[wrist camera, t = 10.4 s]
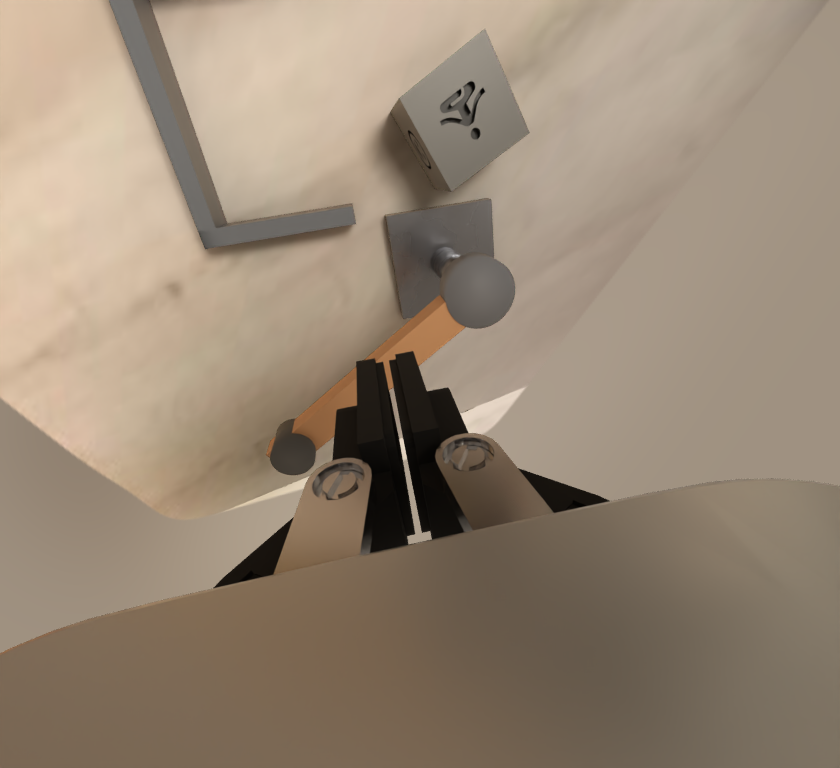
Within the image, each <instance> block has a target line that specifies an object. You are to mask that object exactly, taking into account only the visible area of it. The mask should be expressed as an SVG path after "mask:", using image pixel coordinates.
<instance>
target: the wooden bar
mask: <svg viewBox="0 0 840 768" xmlns="http://www.w3.org/2000/svg"><path fill="white" fill-rule="evenodd" d="M514 295H515V283H514V279H513V276H512V274H511V272H510V271H509V269H508V268H507V267H506V266H505V265H504V264H502V263H501V262H499V261H498V260H496V259H494V258H492V257H491V256H489V255H487V254H484V253H479V252H471V253H466V254H463V255H461V256H459V257H457V258H456V259H455V260H453V261H452V262H451V263H450V264H449V265H448V266H447V268H446V269H445V271H444V273H443V275H442V278H441V281H440V295H439V296H438V297H436V298H435V299H434V300H433V301H432V302H431V303H430V304H428V305H427V306H426V307H425V308H424V309H423V310H421V311H420V312H419V313H418V314H417V315H416V316H414V317H413V318H412V319H411V320H410V321H409V322H408V323H406V324H405V325H404V326H403V327H402V328H401V329H399V330H398V331H397V332H396V333H395V334H394V335H392V336H391V337H390V338H389V339H388V340H387V341H385V342H384V343H383V344H382V345H381V346H380V347H379V348H377V349H376V350H375V351H374V352H373V353H372V354H370V355H369V356H368V357H367V358H366V359H365V360H368V359H373V358H375V360H376V363H378V362H383V364H384V368H385V373H386V378H387V383H388V388H389V390H390V389H392V388H393V387H394V386H393V380H392V375H391V369H390V364H389V360H394V359H396V357H395V354H399V353H405V352H410V351H413V352H414V355H415V358H416V361H417V364H418V366H419V365H421V364H422V363H423V362H424V361H425V360H427V359H428V358H429V357H430V356H431V355H433V354H434V353H435V352H436V351H437V350H439V349H440V348H441V347H442V346H444V345H445V344H446V343H447V342H448V341H450V340H451V339H452V338H453V337H454V336H456V335H457V334H458V333H459V332H460V331H462V330H463V329H464V328H465V327H468V328H475V329H477V328H485V327H488V326H491V325H493V324H495V323H496V322H498V321H499V320H500V319H502V318H503V317H504V316H505V314H506V313H507V312H508V310H509V309H510V307H511V305H512V303H513V300H514ZM356 405H357V373H356V367H355V368H354V369H353V370H352V371H351V372H350V373H348V374H347V375H346V376H345V377H344V378H343V379H341V380H340V381H339V382H338V383H337V384H336V385H334V386H333V387H332V388H331V389H330V390H329V391H328V392H326V393H325V394H324V395H323V396H322V397H321V398H319V399H318V400H317V401H316V402H315V403H314V404H312V405H311V406H310V407H309V408H308V409H307V410H305V411H304V412H303V413H302V414H301V415H300V416H299V417H297V418H296V419H291V420H287V421H285V422H284V423H282V424H281V425H280V426H279V428H278V430H277V433H276V436H275V437H274V438H273V439H272V440H271V441H270V444H269V447H268V451H267V454H266V456H268V457H269V458H270V461H271V464H272V465H273V467H274V468H275V469H276V470H278V471H279V472H281V473H284V474H287V475H299V474H302V473H305V472H307V471H308V470H309V469H310V468H311V467H312V466H313V464H314V462H315V455H316V451H317V450H318V449H319V448H320V447H322V446H323V445H324V444H325V443H326V442H328V441H329V440H330V439H331V438H332V437H334V435H335V421H336V411H337V409H341V408H346V407H351V406H356Z"/></svg>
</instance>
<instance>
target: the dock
mask: <svg viewBox="0 0 840 768" xmlns="http://www.w3.org/2000/svg"><path fill="white" fill-rule="evenodd" d="M109 2H110V5H111V7H112V10H113V12H114V15H115V18H116V20H117V23H118V25H119V28H120V31H121V33H122V36H123V38H124V41H125V43H126V46H127V49H128V51H129V54H130V56H131V59H132V62H133V64H134V67H135V69H136V72H137V74H138V77H139V80H140V82H141V85H142V87H143V90H144V93H145V95H146V98H147V100H148V103H149V105H150V108H151V111H152V113H153V116H154V118H155V121H156V124H157V126H158V129H159V131H160V134H161V136H162V139H163V142H164V144H165V147H166V149H167V152H168V155H169V157H170V160H171V162H172V165H173V168H174V170H175V173H176V175H177V178H178V180H179V183H180V186H181V188H182V191H183V193H184V196H185V199H186V201H187V204H188V206H189V209H190V211H191V214H192V217H193V219H194V222H195V224H196V227H197V230H198V232H199V235H200V237H201V240H202V242H203V245H204V248H205V249H208V248H214V247H220V246H226V245H232V244H238V243H245V242H251V241H257V240H263V239H269V238H275V237H281V236H287V235H293V234H299V233H305V232H311V231H317V230H323V229H329V228H335V227H341V226H347V225H353V224H356V220H355V215H354V210H353V205H352V204H346V205H340V206H333V207H327V208H321V209H315V210H309V211H303V212H296V213H290V214H284V215H278V216H272V217H266V218H259V219H253V220H247V221H241V222H235V223H229V224H227V221H226V218H225V216H224V213H223V210H222V207H221V204H220V201H219V198H218V196H217V193H216V190H215V187H214V184H213V181H212V178H211V176H210V173H209V170H208V167H207V164H206V161H205V158H204V156H203V153H202V150H201V147H200V144H199V141H198V138H197V136H196V133H195V130H194V127H193V124H192V121H191V118H190V116H189V113H188V110H187V107H186V104H185V101H184V98H183V96H182V93H181V90H180V87H179V84H178V81H177V78H176V76H175V73H174V70H173V67H172V64H171V61H170V58H169V56H168V53H167V50H166V47H165V44H164V41H163V38H162V36H161V33H160V30H159V27H158V24H157V21H156V18H155V16H154V13H153V10H152V7H151V4H150V1H149V0H109Z"/></svg>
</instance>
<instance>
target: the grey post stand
mask: <svg viewBox="0 0 840 768" xmlns="http://www.w3.org/2000/svg"><path fill="white" fill-rule="evenodd" d="M385 217H386V223H387V229H388V235H389V241H390V247H391V253H392V259H393V265H394V271H395V277H396V283H397V289H398V295H399V301H400V307H401V313H402V317H403V319H406V318H412V317H414V316H416V315H417V314H418V313H419V312H420V311H421V310H423V309H424V308H425V307H426V306H427V305H428V304H430V303H431V302H432V301H433V300H434V299H435V298H436V297H438V296H439V295H440V281H441V278H442V275H443V273H444V271H445V269H446V268H447V266H448V265H449V264H450V263H451V262H452V261H453V260H455V259H456V258H457V257H459V256H461V255H463V254H466V253H471V252H479V253H484V254H487V255H489V256H491V257H492V258H494V248H493V225H492V202H491V199H489V198H485V199H479V200H473V201H467V202H461V203H455V204H449V205H442V206H436V207H430V208H424V209H418V210H412V211H406V212H400V213H394V214H388V215H385Z"/></svg>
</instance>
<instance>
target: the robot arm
mask: <svg viewBox="0 0 840 768" xmlns="http://www.w3.org/2000/svg"><path fill="white" fill-rule="evenodd" d="M395 357H396V359H394V360H389V364H390V369H391V375H392V380H393V386H394V391H395V396H396V402H397V407H398V413H399V418H400V423H401V429H402V434H403V439H404V444H405V450H406V455H407V460H408V465H409V470H410V475H411V480H412V485H413V490H414V495H415V500H416V505H417V510H418V515H419V520H420V525H421V530H422V533H423V532H427V531H430V532H431V537H432V540H427V541H423V542H418V543H414V544H409V545H408V539H407V536H409V535H414V534H415V531H414V524H413V519H412V513H411V506H410V501H409V495H408V489H407V483H406V477H405V472H404V465H403V459H402V453H401V447H400V442H399V437H398V432H397V427H396V422H395V417H394V412H393V407H392V403H391V398H390V393H389V388H388V383H387V378H386V373H385V368H384V364H383V362H378V363H376V360H375V358H373V359H368V360H362V361H357V362H356V373H357V405H356V406H351V407H346V408H341V409H337V411H336V421H335V435H334V449H333V461H331V462H328V463H326V464H324V465H322V466H321V467H319V468H318V469H316V470H315V471H314V472H313V473H312V474H311V475H310V477H309V478H308V480H307V482H306V484H305V487H304V490H303V492H302V495H301V498H300V501H299V504H298V507H297V509H296V513H295V515H294V517H293V518H292V519H291V520H290V521H289V522H287V523H286V524H285V525H284V526H283V527H282V528H281V529H279V530H278V531H277V532H276V533H275V534H274V535H272V536H271V537H270V538H269V539H268V540H267V541H265V542H264V543H263V544H262V545H261V546H260V547H259V548H257V549H256V550H255V551H254V552H253V553H251V554H250V555H249V556H248V557H247V558H246V559H244V560H243V561H242V562H241V563H240V564H239V565H238V566H236V567H235V568H234V569H233V570H232V571H231V572H230V573H228V574H227V575H226V576H225V577H224V578H223V579H222V580H221V581H220V582H219V583H218V584H217V585H216V586H215V587H214V588H213V589H208V590H204V591H199V592H195V593H190V594H186V595H182V596H178V597H173V598H168V599H164V600H160V601H156V602H152V603H148V604H144V605H140V606H136V607H133V608H129V609H125V610H121V611H117V612H113V613H109V614H105V615H101V616H97V617H94V618H90V619H87V620H84V621H81V622H78V623H75V624H71V625H68V626H66V627H63V628H60V629H56V630H53V631H51V632H48V633H46V634H44V635H41V636H39V637H36V638H34V639H31V640H29V641H27V642H24V643H22V644H19V645H17V646H15V647H12V648H10V649H8V650H6V651H4V652H2V653H0V768H840V486H838V485H833V484H827V483H820V482H814V481H802V480H801V481H800V480H789V479H773V478H771V479H735V480H727V481H717V482H707V483H702V484H696V485H691V486H685V487H680V488H674V489H668V490H663V491H657V492H652V493H646V494H642V495H637V496H633V497H628V498H623V499H618V500H614V501H609V500H607V499H604V498H602V497H600V496H598V495H595V494H591V493H589V492H586V491H583V490H580V489H577V488H574V487H571V486H568V485H566V484H562V483H559V482H557V481H554V480H551V479H548V478H545V477H542V476H539V475H536V474H533V473H530V472H527V471H524V470H521V469H519V468H517V467H516V465H515V464H514V463H513V462H512V460H511V459H510V458H509V457H508V455H507V454H506V453H505V452H504V450H503V449H502V448H501V447H500V446H499V445H498V443H497V442H495V441H494V440H493V439H492V438H489V437H487V436H485V435H481V434H476V433H468V431H467V429H466V426H465V424H464V422H463V420H462V417H461V415H460V413H459V410H458V408H457V406H456V404H455V401H454V399H453V397H452V394H451V392H450V390H449V388H443V389H438V390H433V391H428V392H427V391H426V388H425V385H424V382H423V379H422V376H421V373H420V370H419V367H418V364H417V361H416V358H415V355H414V352H413V351H410V352H405V353H399V354H395Z"/></svg>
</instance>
